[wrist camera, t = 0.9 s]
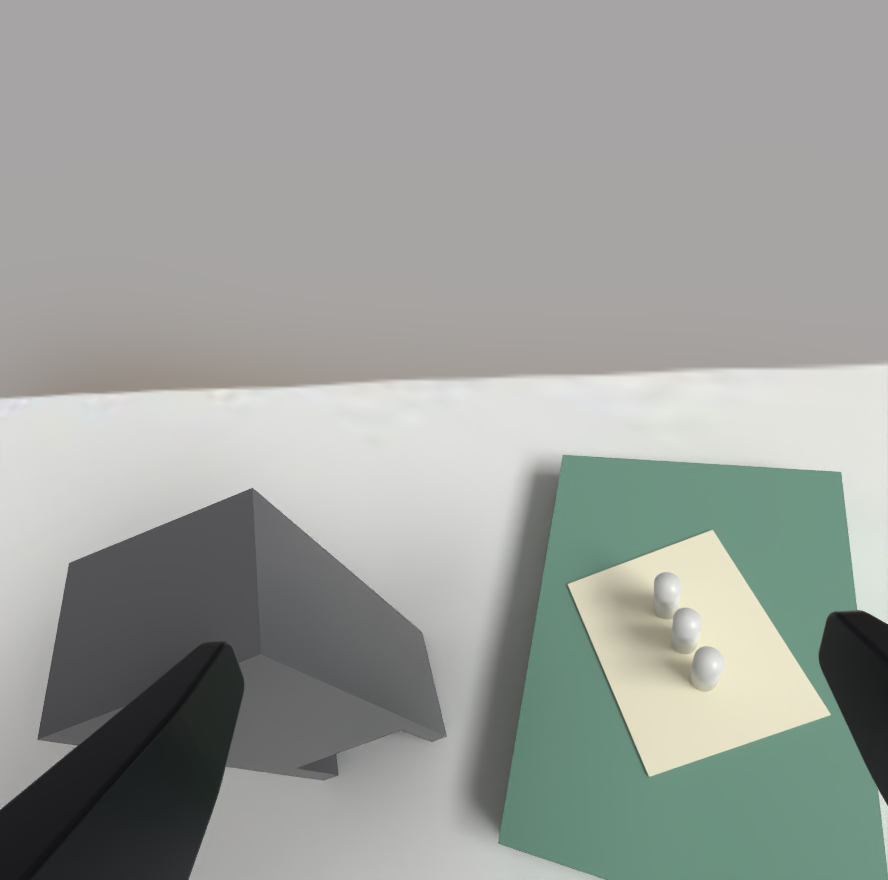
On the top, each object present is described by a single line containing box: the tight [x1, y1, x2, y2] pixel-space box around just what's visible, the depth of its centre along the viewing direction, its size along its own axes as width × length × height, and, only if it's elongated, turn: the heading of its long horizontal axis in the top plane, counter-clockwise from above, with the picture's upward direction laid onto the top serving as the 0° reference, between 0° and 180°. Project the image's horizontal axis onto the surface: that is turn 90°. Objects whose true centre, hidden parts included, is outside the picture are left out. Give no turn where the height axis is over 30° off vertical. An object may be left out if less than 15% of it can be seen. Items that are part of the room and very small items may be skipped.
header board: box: [498, 455, 888, 880], centre depth 18 cm, size 14×10×4 cm
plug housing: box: [38, 488, 447, 780], centre depth 17 cm, size 4×5×12 cm
